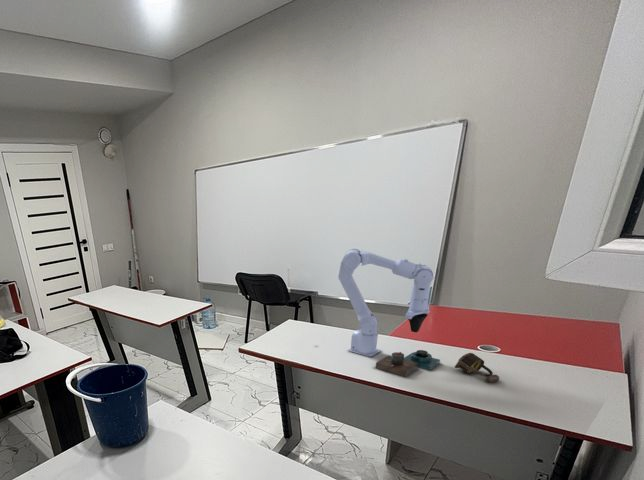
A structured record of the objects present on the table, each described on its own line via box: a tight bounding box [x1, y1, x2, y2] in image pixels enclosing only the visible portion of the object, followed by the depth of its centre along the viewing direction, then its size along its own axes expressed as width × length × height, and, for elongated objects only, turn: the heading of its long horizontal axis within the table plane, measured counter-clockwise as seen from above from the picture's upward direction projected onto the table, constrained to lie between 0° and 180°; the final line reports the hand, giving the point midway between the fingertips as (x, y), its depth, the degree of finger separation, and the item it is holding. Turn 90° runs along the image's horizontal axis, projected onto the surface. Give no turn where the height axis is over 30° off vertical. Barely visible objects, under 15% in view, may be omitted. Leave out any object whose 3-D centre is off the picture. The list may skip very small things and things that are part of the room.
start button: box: [415, 349, 429, 357], centre depth 137 cm, size 4×4×2 cm
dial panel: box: [375, 354, 419, 378], centre depth 136 cm, size 11×9×3 cm
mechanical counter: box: [454, 352, 500, 383], centre depth 125 cm, size 7×13×10 cm
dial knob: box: [391, 351, 405, 365], centre depth 135 cm, size 4×4×4 cm
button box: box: [404, 351, 441, 371], centre depth 138 cm, size 10×8×4 cm
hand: (414, 331), depth 141 cm, fingers closed
